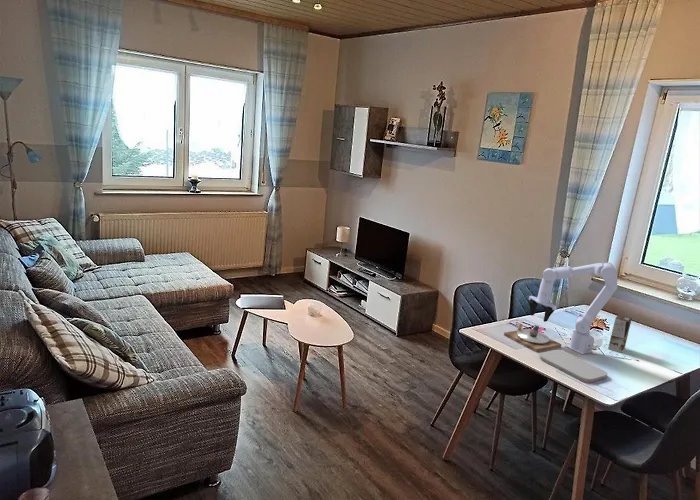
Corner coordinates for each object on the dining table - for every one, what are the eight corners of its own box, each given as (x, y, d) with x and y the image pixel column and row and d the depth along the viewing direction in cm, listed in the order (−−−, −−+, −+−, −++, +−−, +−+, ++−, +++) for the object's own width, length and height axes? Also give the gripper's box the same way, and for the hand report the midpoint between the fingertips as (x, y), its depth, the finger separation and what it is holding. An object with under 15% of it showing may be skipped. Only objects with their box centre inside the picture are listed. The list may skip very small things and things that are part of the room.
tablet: (557, 353, 238) (558, 348, 237) (609, 378, 216) (610, 373, 216) (535, 358, 229) (536, 353, 229) (586, 385, 208) (587, 380, 207)
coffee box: (621, 353, 245) (629, 322, 241) (607, 348, 249) (614, 318, 245) (625, 348, 252) (632, 317, 248) (611, 343, 256) (618, 314, 252)
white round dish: (555, 342, 245) (557, 333, 244) (534, 345, 238) (535, 337, 237) (531, 330, 258) (532, 322, 257) (510, 333, 250) (511, 325, 249)
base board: (560, 347, 244) (563, 336, 243) (535, 351, 236) (537, 341, 234) (528, 331, 261) (530, 321, 260) (503, 335, 252) (505, 324, 251)
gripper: (527, 288, 250) (521, 313, 253) (553, 298, 238) (546, 324, 242) (536, 286, 254) (530, 312, 257) (561, 297, 242) (555, 323, 246)
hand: (538, 318), depth 250 cm, fingers open, 7 cm apart
